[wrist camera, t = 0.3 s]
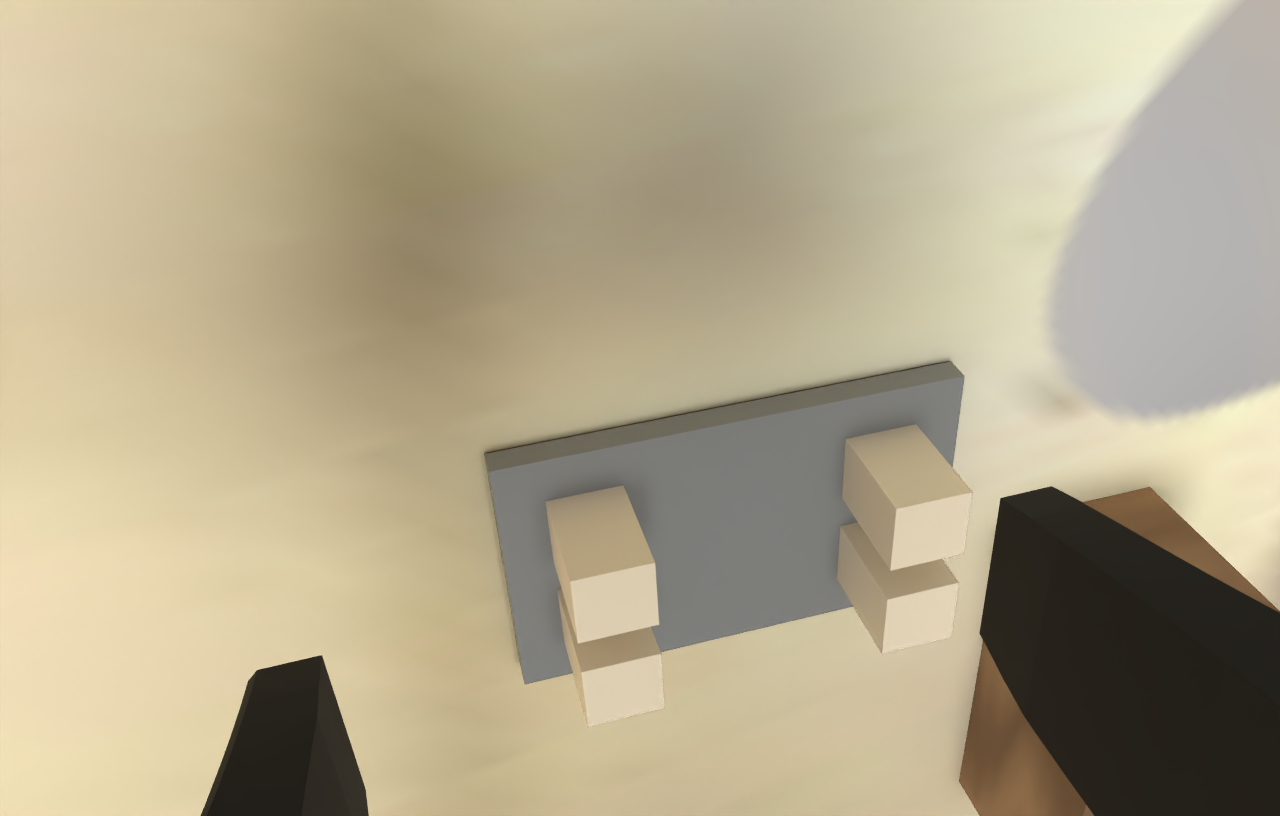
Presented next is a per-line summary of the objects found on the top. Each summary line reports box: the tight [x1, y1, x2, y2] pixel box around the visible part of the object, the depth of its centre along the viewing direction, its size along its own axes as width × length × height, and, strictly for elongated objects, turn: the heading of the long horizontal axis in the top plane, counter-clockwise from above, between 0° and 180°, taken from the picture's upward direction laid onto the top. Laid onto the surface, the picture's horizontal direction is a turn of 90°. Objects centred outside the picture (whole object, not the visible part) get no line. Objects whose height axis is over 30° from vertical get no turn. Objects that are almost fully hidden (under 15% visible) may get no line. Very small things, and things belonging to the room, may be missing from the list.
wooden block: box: [959, 487, 1280, 816], centre depth 28 cm, size 10×4×5 cm, turn 3°
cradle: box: [485, 361, 973, 727], centre depth 23 cm, size 10×6×3 cm, turn 92°
